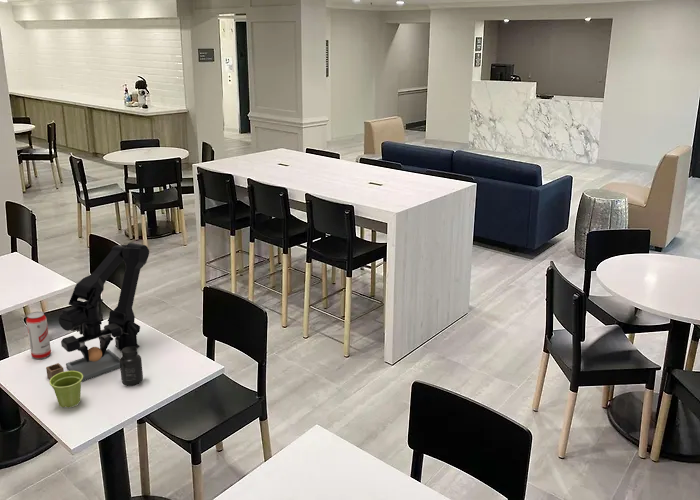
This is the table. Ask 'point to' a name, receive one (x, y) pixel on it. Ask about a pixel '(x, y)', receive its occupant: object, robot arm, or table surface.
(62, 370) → the brown wooden open cube
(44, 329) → the beer can
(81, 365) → the tray
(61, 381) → the plant pot
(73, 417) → the table surface
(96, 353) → the ball
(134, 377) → the supplement bottle
